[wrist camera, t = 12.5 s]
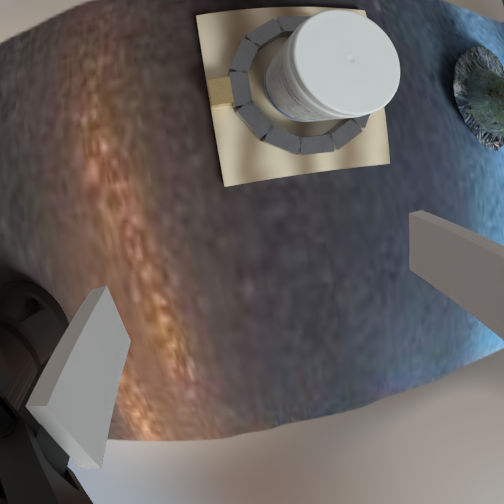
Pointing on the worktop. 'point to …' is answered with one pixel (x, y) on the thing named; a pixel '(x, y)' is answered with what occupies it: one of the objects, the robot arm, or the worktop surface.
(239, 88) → the ring
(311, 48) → the supplement tub
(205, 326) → the worktop surface
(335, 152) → the base plate
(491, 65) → the tree stump
